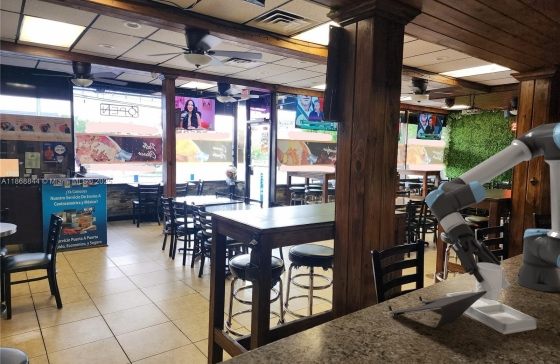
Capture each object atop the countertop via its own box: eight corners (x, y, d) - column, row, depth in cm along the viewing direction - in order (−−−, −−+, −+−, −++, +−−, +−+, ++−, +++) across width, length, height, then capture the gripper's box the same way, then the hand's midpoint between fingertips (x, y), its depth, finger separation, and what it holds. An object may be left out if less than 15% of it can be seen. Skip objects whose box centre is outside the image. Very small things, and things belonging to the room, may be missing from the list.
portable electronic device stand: (434, 320, 129) (425, 294, 132) (496, 314, 111) (483, 283, 113) (389, 337, 117) (380, 308, 119) (450, 333, 98) (438, 298, 101)
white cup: (505, 302, 114) (507, 270, 113) (478, 299, 115) (480, 268, 114) (496, 292, 121) (498, 263, 120) (470, 290, 123) (472, 261, 122)
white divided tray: (472, 298, 134) (472, 290, 134) (536, 328, 111) (536, 319, 110) (444, 301, 130) (444, 293, 130) (503, 334, 107) (504, 324, 107)
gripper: (468, 232, 135) (509, 289, 122) (429, 237, 126) (469, 299, 113) (483, 220, 130) (527, 278, 117) (443, 224, 121) (486, 288, 108)
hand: (498, 288), depth 115 cm, fingers closed on white cup, 8 cm apart
